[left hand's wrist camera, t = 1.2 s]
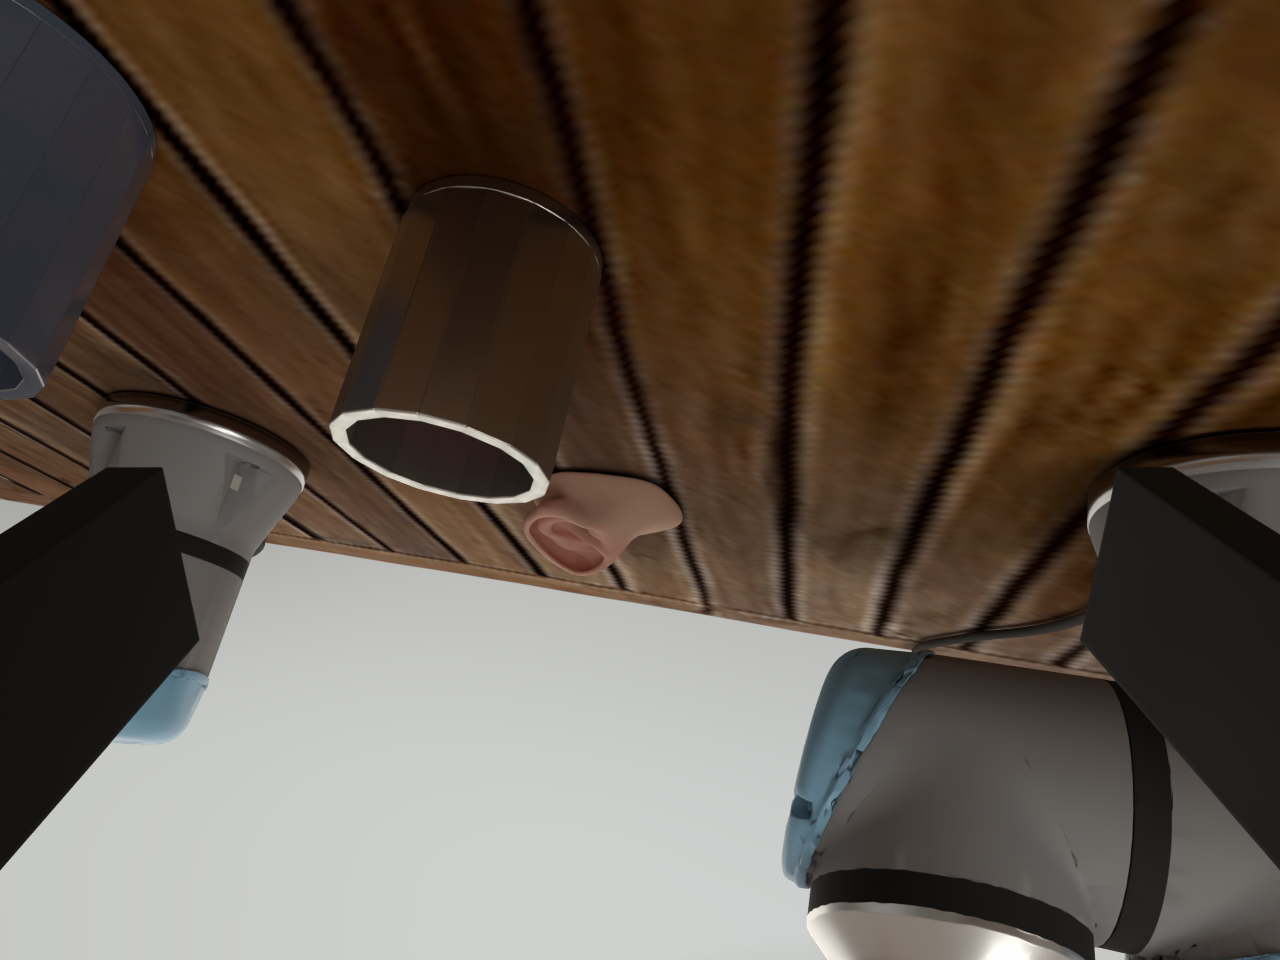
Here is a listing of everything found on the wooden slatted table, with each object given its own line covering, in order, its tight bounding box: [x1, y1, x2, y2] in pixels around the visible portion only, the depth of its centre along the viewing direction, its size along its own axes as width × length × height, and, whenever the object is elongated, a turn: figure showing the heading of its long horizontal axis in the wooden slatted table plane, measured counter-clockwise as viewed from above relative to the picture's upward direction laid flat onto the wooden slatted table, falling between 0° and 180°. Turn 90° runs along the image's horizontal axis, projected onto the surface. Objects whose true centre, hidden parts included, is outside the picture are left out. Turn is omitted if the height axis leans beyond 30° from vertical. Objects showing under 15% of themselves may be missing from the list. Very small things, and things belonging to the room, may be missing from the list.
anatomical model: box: [523, 472, 683, 576], centre depth 63 cm, size 13×4×12 cm
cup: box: [329, 175, 602, 503], centre depth 35 cm, size 8×8×10 cm
